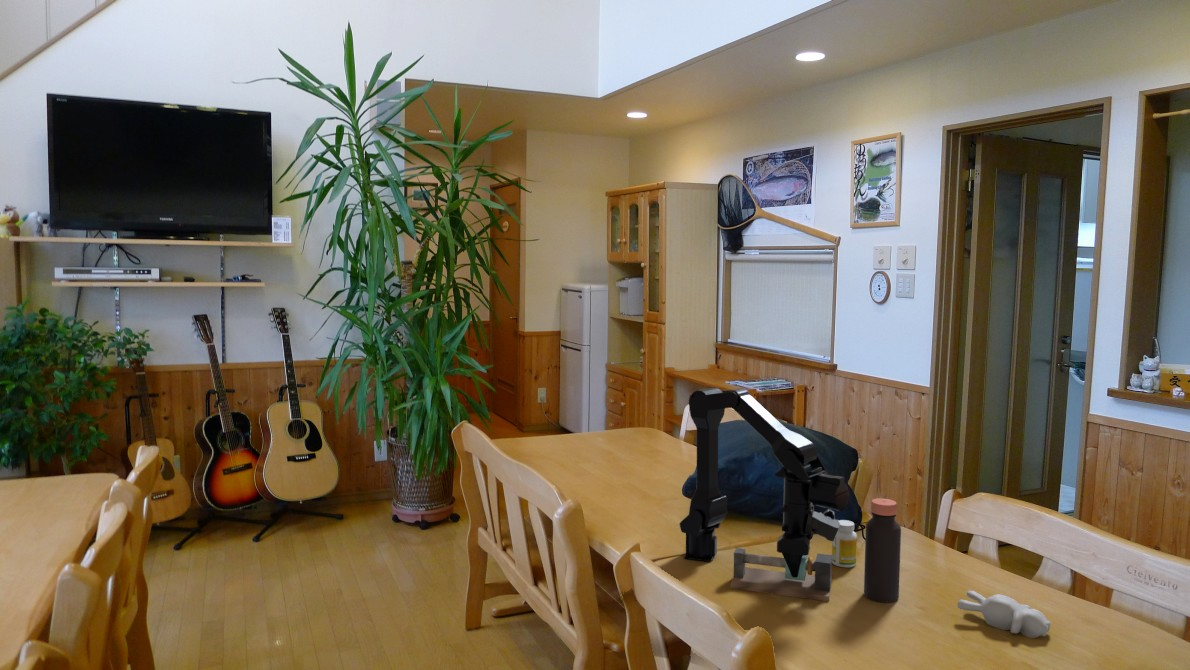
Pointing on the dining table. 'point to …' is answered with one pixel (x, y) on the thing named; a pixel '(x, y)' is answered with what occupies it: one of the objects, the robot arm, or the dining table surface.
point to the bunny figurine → (1008, 614)
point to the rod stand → (782, 576)
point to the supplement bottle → (844, 545)
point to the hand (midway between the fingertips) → (796, 572)
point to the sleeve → (801, 570)
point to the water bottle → (882, 552)
